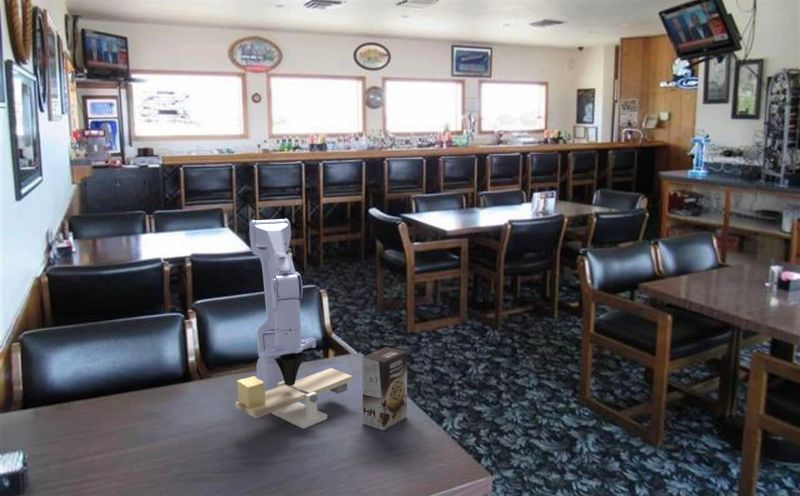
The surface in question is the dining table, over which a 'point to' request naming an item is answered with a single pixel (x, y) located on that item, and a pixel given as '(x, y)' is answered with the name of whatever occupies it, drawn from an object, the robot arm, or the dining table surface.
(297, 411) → the stand
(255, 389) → the rider
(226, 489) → the dining table surface
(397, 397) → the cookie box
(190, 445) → the dining table surface
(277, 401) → the beam
